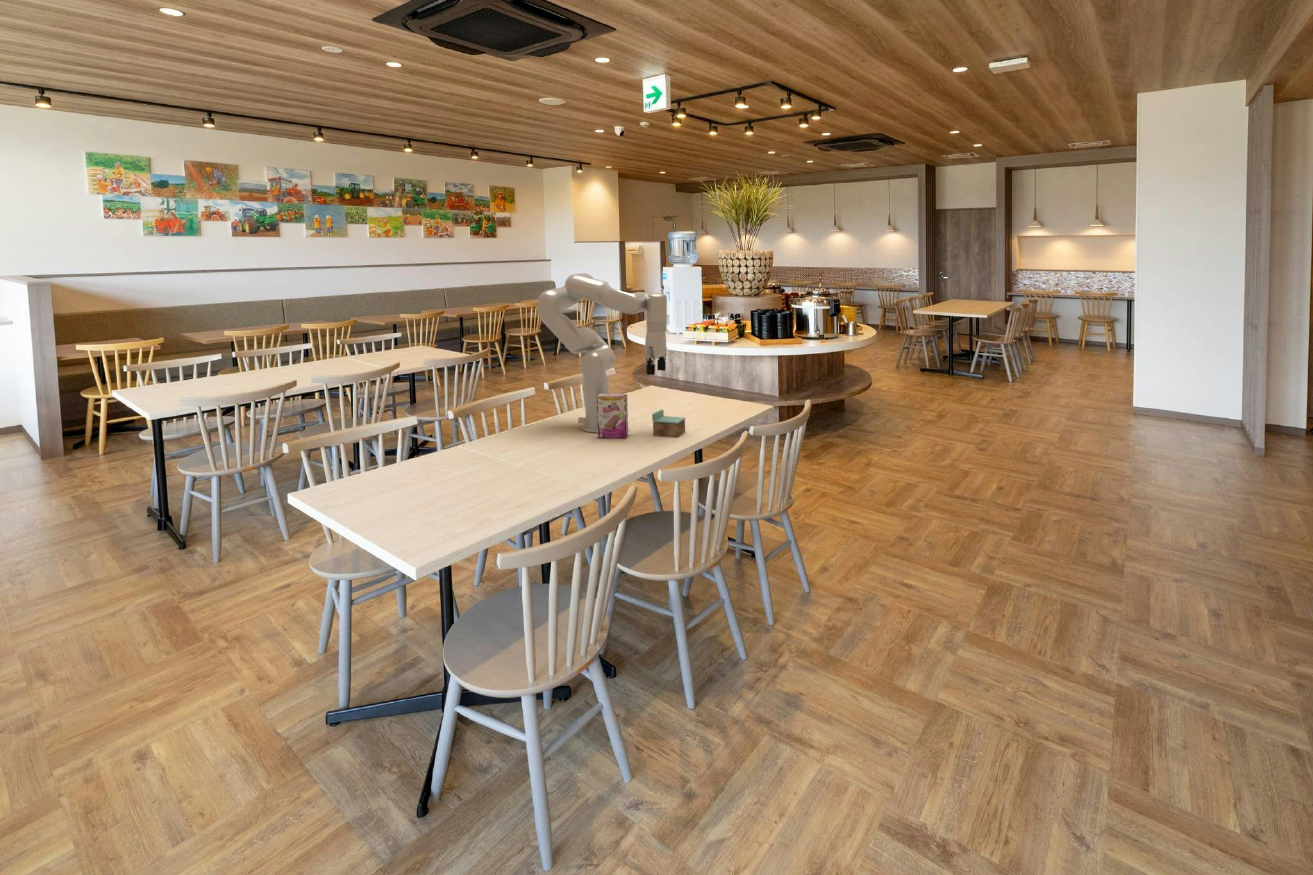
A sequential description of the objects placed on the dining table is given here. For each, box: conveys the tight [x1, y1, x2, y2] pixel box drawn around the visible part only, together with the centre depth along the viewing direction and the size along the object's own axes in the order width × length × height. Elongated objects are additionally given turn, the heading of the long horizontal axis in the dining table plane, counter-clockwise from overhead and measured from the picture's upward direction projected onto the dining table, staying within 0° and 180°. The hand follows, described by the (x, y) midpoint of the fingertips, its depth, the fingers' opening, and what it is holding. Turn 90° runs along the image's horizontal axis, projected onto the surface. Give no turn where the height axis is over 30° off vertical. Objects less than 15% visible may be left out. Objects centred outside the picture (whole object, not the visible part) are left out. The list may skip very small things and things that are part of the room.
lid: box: [651, 409, 687, 424], centre depth 281 cm, size 10×8×3 cm
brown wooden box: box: [652, 419, 686, 438], centre depth 282 cm, size 10×8×5 cm
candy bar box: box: [597, 393, 629, 439], centre depth 278 cm, size 11×5×16 cm, turn 84°
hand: (656, 372), depth 278 cm, fingers open, 9 cm apart
